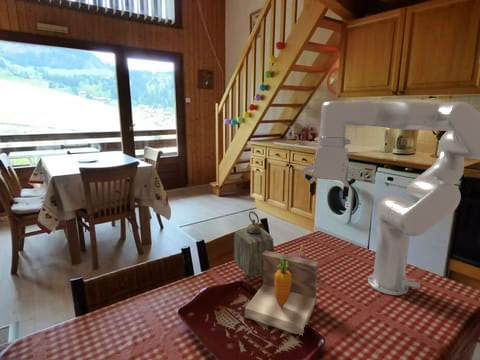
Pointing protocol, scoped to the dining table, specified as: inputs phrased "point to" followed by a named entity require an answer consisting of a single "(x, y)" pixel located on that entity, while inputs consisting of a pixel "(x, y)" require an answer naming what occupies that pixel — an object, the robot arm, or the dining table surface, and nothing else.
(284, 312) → the shelf
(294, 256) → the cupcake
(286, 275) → the carrot
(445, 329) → the dining table surface
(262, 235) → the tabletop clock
